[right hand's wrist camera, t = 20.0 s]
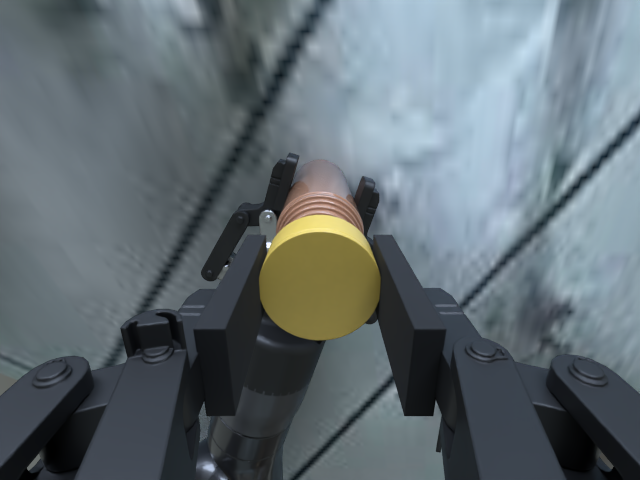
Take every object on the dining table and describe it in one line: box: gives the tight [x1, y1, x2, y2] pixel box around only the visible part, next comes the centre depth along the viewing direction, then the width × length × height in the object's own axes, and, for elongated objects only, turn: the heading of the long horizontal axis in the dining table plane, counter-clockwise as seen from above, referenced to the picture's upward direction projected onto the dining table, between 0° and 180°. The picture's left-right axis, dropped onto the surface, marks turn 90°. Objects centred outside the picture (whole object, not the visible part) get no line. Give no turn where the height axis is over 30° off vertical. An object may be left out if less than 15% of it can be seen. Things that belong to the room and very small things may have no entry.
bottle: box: [276, 160, 364, 235], centre depth 21 cm, size 5×5×18 cm
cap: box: [259, 215, 381, 340], centre depth 14 cm, size 4×4×2 cm
